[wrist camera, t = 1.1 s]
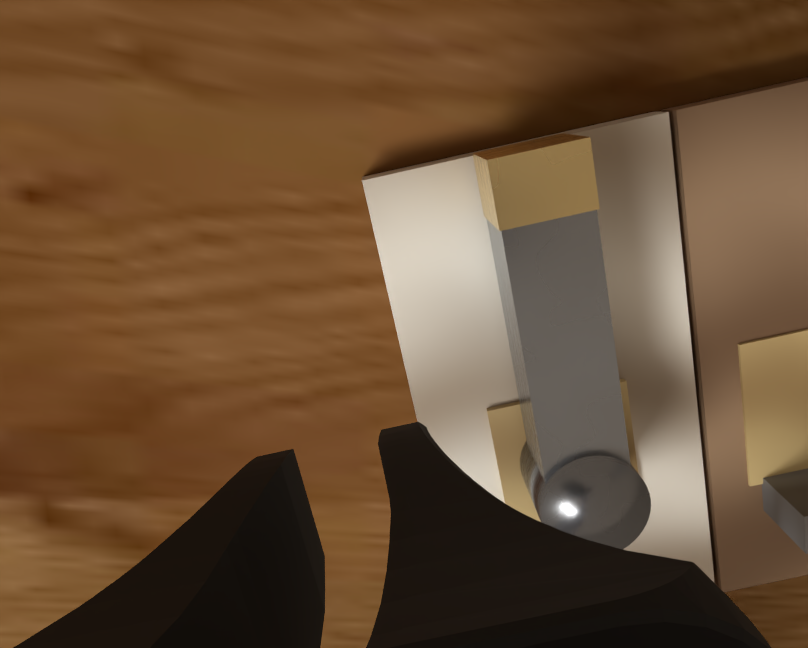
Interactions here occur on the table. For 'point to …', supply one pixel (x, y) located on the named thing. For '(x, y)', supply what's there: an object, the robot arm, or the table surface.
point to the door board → (641, 322)
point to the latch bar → (562, 337)
